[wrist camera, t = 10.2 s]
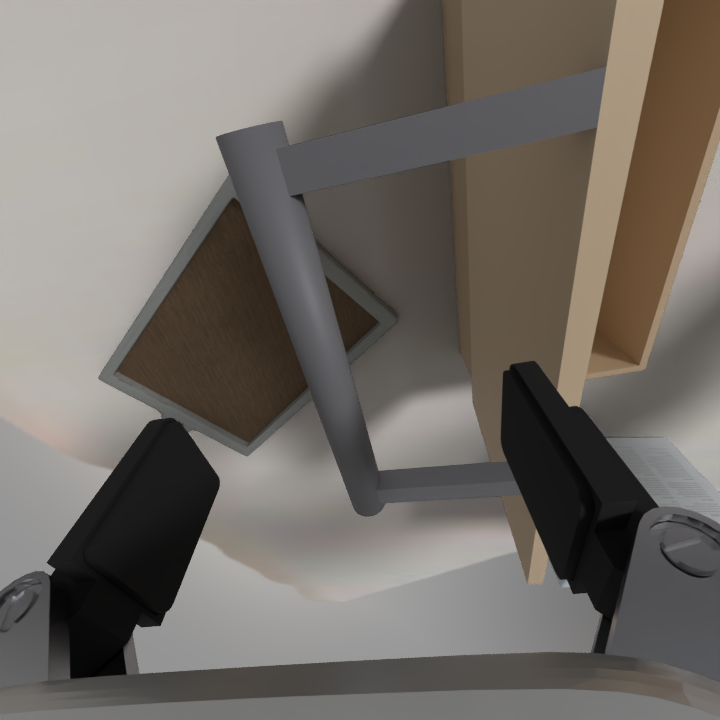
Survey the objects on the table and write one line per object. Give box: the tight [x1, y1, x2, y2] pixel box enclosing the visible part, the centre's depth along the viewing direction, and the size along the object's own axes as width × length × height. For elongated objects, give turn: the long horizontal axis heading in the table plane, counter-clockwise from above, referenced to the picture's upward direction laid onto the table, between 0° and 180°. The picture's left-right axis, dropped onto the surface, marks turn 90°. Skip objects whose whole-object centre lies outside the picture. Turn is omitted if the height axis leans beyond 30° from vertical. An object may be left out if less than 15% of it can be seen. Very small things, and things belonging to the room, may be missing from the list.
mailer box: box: [442, 0, 720, 380], centre depth 25 cm, size 14×30×8 cm, turn 12°
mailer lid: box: [216, 0, 664, 584], centre depth 17 cm, size 15×31×9 cm
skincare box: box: [548, 437, 720, 587], centre depth 40 cm, size 21×5×16 cm, turn 89°
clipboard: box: [98, 175, 398, 456], centre depth 37 cm, size 19×2×30 cm
